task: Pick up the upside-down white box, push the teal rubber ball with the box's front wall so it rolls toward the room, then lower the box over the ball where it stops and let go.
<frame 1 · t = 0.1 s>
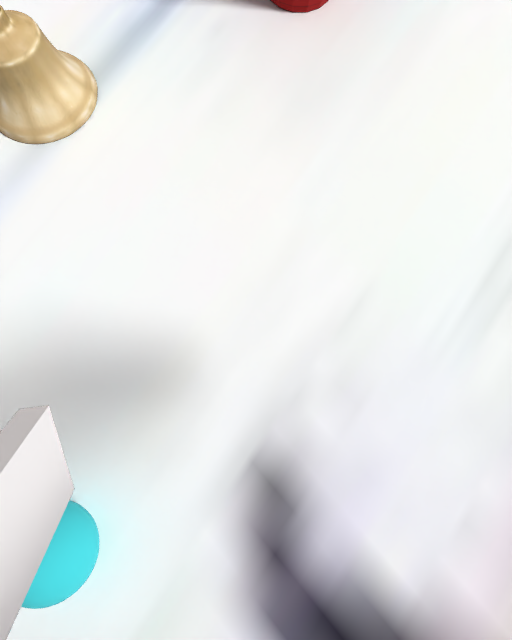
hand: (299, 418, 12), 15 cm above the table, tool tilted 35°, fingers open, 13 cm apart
hand bell: (44, 100, 33), on the table
ball: (48, 550, 23), on the table
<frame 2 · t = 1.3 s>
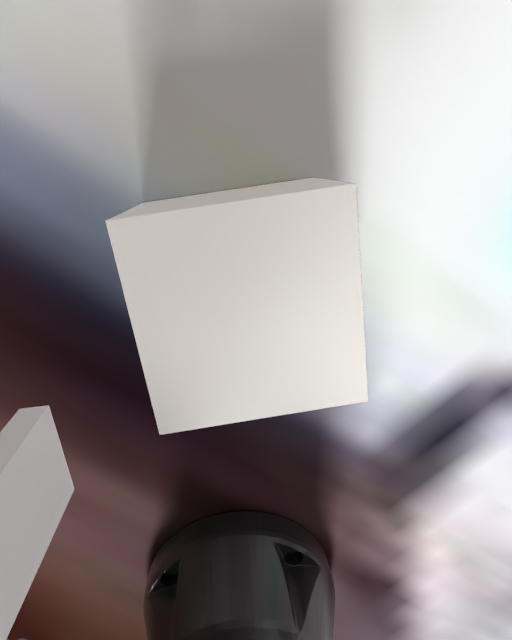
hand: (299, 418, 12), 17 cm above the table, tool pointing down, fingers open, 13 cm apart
white box: (241, 273, 28), on the table
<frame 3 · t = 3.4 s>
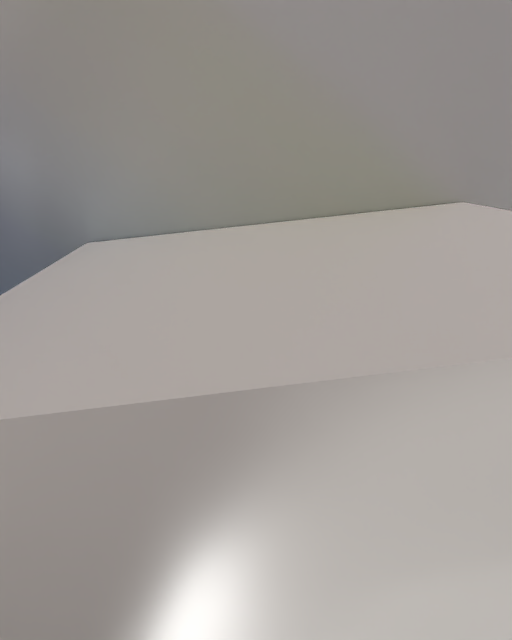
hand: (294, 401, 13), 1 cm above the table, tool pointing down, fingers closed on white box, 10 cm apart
white box: (290, 388, 13), on the table, touching gripper
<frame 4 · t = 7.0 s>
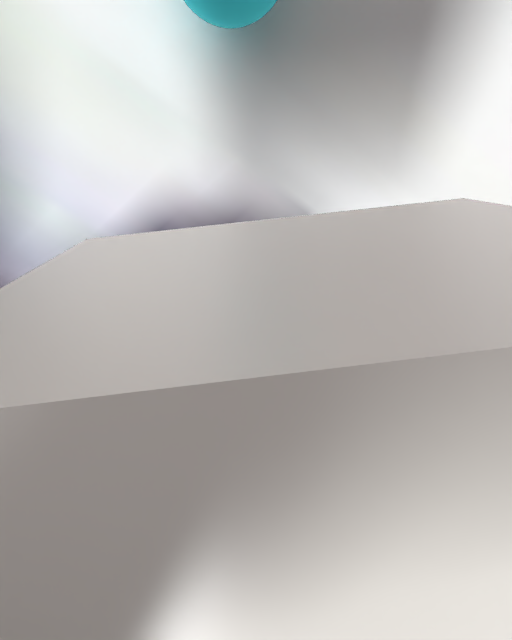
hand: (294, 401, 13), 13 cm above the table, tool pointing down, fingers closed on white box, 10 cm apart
white box: (290, 385, 13), point 13 cm above the table, touching gripper
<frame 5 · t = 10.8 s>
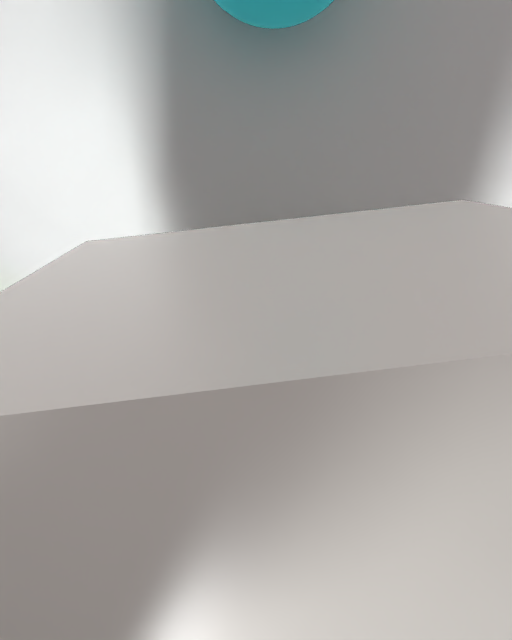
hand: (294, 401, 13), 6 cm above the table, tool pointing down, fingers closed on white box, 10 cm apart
white box: (290, 387, 13), point 5 cm above the table, touching gripper
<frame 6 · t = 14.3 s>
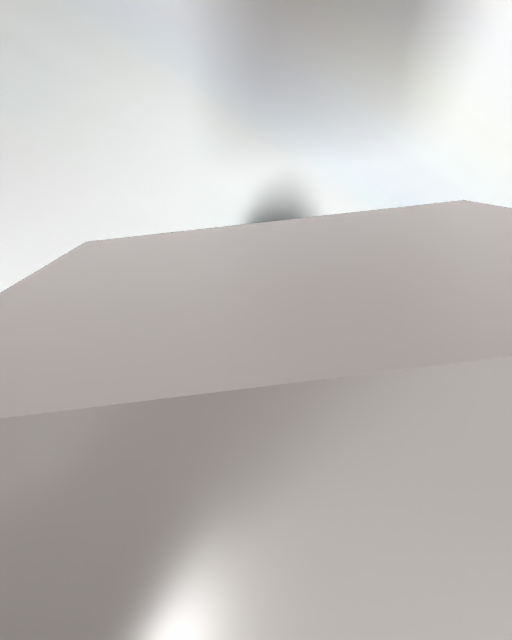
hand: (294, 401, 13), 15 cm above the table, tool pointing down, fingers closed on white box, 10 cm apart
white box: (290, 387, 13), point 14 cm above the table, touching gripper
when the fingers open (1 cm above the table, at t = 17.4 s): white box stays where it is, on the table.
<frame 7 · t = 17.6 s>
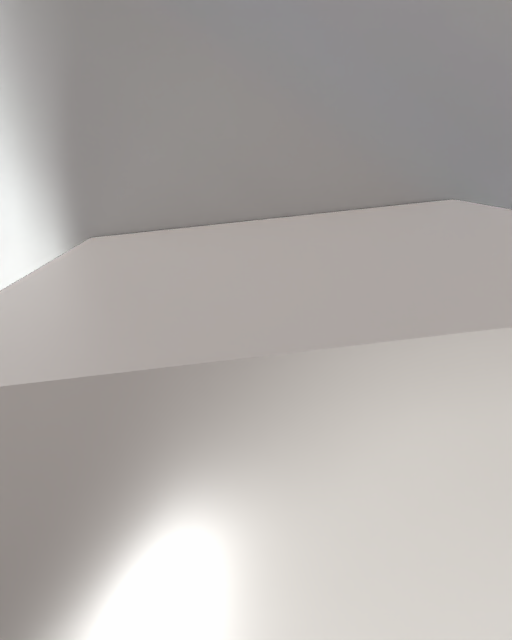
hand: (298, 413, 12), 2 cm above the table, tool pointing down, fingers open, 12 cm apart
white box: (286, 379, 14), on the table
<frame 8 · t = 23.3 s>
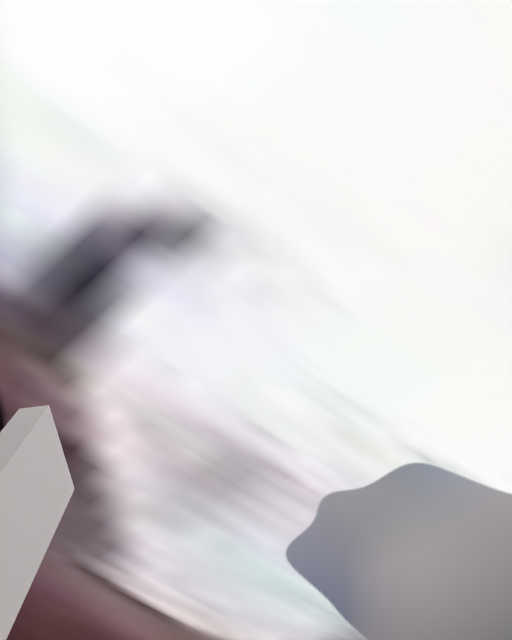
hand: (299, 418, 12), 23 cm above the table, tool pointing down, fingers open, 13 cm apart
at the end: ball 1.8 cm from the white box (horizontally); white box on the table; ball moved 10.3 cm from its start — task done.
